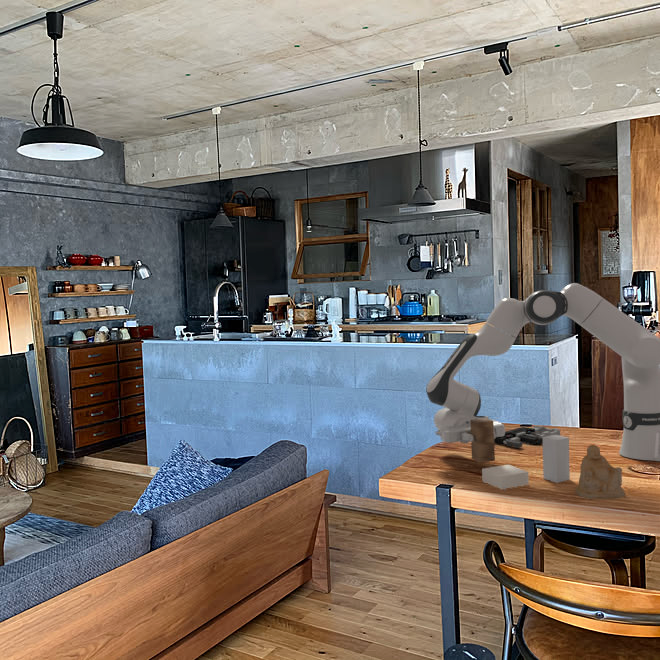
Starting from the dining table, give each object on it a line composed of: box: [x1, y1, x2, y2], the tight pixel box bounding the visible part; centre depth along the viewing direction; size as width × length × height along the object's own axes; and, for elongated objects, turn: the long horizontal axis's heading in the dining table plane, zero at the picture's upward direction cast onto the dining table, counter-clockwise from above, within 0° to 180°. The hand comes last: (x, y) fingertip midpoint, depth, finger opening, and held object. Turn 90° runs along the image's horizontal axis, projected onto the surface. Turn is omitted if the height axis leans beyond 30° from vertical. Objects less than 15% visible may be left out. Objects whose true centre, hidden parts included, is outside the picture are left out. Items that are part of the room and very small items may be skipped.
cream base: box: [481, 464, 530, 490], centre depth 187 cm, size 9×9×4 cm
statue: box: [574, 444, 626, 500], centre depth 176 cm, size 12×14×10 cm
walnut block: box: [470, 418, 496, 464], centre depth 200 cm, size 5×5×12 cm
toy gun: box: [494, 424, 561, 449], centre depth 234 cm, size 4×33×15 cm
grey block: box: [542, 435, 571, 484], centre depth 189 cm, size 5×5×12 cm
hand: (483, 437), depth 199 cm, fingers closed on walnut block, 5 cm apart
